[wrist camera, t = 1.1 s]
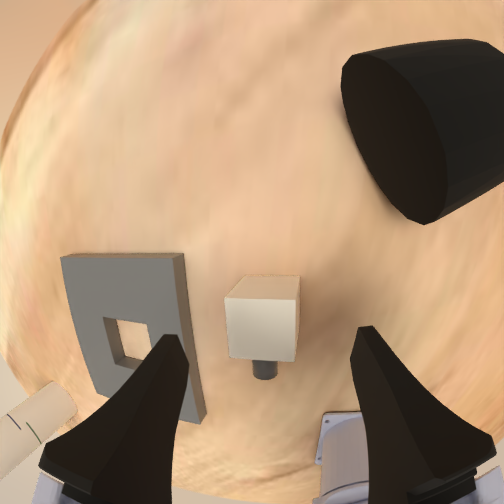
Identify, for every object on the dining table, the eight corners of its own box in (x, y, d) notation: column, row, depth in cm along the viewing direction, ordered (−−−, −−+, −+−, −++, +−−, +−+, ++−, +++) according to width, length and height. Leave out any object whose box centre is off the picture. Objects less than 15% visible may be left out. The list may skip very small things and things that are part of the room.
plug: (298, 346, 22) (293, 384, 17) (248, 344, 23) (231, 380, 18) (299, 275, 21) (295, 299, 16) (245, 275, 22) (224, 297, 17)
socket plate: (206, 413, 26) (200, 424, 24) (105, 385, 29) (96, 393, 27) (183, 253, 23) (172, 258, 21) (72, 253, 26) (60, 257, 24)
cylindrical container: (50, 374, 33) (-43, 440, 9) (78, 402, 33) (-13, 481, 9) (50, 392, 35) (-31, 454, 11) (76, 418, 34) (-3, 489, 10)
